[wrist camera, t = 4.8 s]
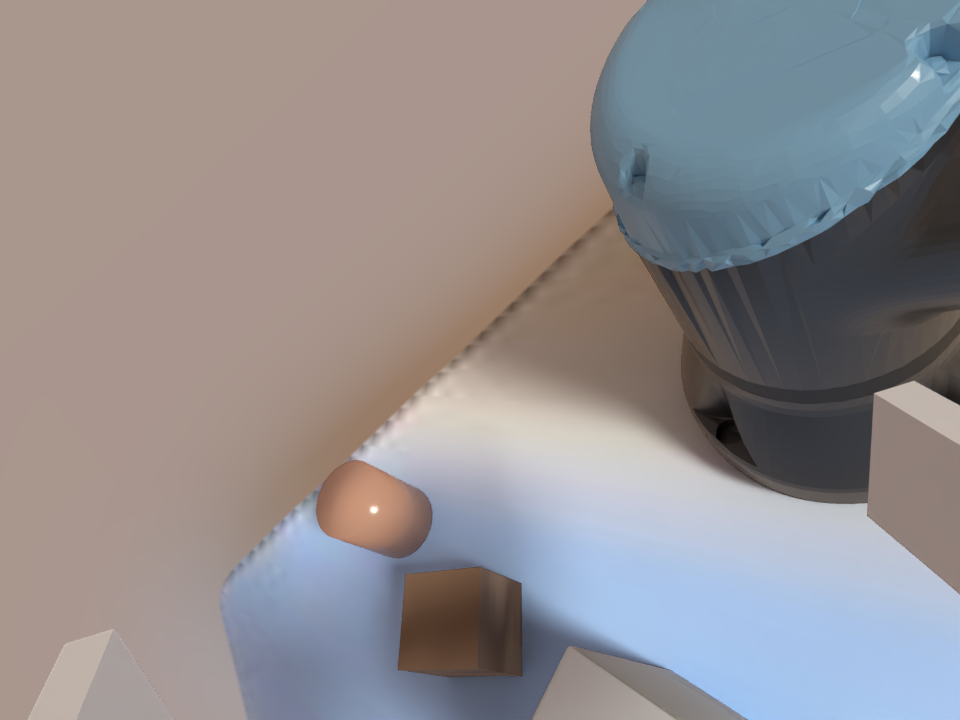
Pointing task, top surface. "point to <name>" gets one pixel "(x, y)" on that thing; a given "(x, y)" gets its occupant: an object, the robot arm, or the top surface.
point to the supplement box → (623, 692)
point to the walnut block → (461, 624)
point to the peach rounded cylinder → (373, 510)
